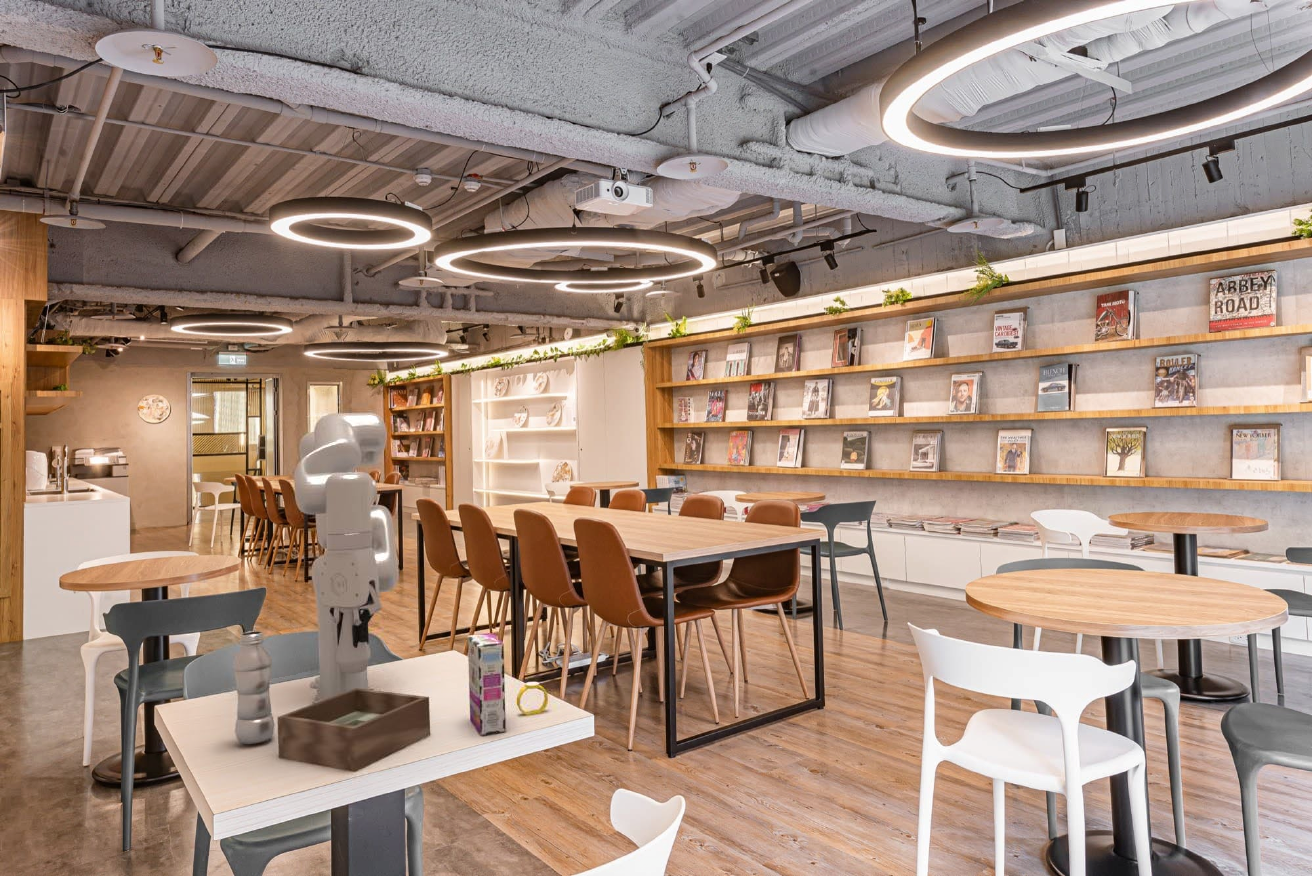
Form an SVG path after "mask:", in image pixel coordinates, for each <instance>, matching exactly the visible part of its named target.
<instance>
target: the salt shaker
mask: <svg viewBox="0 0 1312 876" xmlns="http://www.w3.org/2000/svg"><path fill="white" fill-rule="evenodd" d="M339 610H340V612H342V613H343V619H342V627H341V633H340V639H339V645H338V651H337V658H336V661H337V664H338V665H339V667H340V668H341V670H342V672H343V674H354V673H359V672H363V671H365V670H366V669H367V670H368V665H369V663H370V660H371V656H372V654H371V649H370V644H369V643H368V645H367V642H359V643H358V646H357V648H355V647H354V646H353V636H352V625H355V622H354V612H353V609H351V608H339ZM362 610H363V609H362ZM362 610H361V611H362ZM361 614H362V612H361Z"/></svg>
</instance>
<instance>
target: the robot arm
mask: <svg viewBox="0 0 1312 876" xmlns="http://www.w3.org/2000/svg"><path fill="white" fill-rule="evenodd" d="M387 434H388V432H387V426H386V424H385V421H384V419H383V418H382V417H381V416H380V415H378V413H377V414H376V413H373V412H336V413H330V414H326V415H324V416H322V417H321V418H319V419H318V420H317V422H315V426H314V429H313V431H311V432H308V433H306V434H304V435H303V436H302V438H301V440H300V442H299V455H300V461H299V462H298V464H297V466H296V468H295V470H294V471H295V472H294V477H293V478H294V480H293V482H294V498H295V503H296V506H297V508H298V509H299V511H300V512H301V513H303V514H306V515H315V528H316V537H317V542H318V544H319V545H320V547H321V548H323V549H325V550H326V551H325V550H324V553H323V554H321V555H320V556H318V557H317V558H316V559H315V560H314V561H313V563H312V565H311V580H312V586H313V590H314V595H315V597H314V598H315V602H316V614H317V628H318V629H317V631H318V632H317V635H318V639H317V640H318V656H319V657H318V660H319V663H318V664H319V676H317V677H316V678H315V679H314V681H311V682H310V684H309V687H310V689H316V691H317V693H316V695H315V696H314V697H313V698H312V704H315V703H317V702H320V701H323V700H325V699H328V698H331V697H334V696H336V695H339V694H342V693H345V692H347V691H350V690H353V689H355V688H359V689H367V690H376V689H375V688H373V687H371V686H368V685H369V683H368V681H369V680H368V679H369V678H368V668H367V669H366V670H365V671H363V672H359V673H354V674H343V672H342V670H341V668H340V667H339V665H338V664H337V661H336V658H337V651H338V645H339V639H340V633H341V627H342V619H343V613H342V612H340V610H339V608H351V609H353V612H354V622H355V625H352V636H353V646H354V647H355V648H357V646H358V643H359V642H367V645H368V644H369V641H370V638H369V635H370V634H369V623H370V622H372V618H373V616H374V615H375V614H376V613H378V612H380V611H381V610H382V604H381V602H380V593H385V592H390V591H392V590H394V589H395V588H396V587H397V584H398V582H399V575H400V573H399V571H400V570H399V562H398V561H399V560H398V553H397V544H396V536H395V535H396V534H395V527H394V522H393V521H394V520H393V517H392V514H391V512H390V510H389V509H388V508H387V506H384V505H381V504H374V503H375V502H376V501H377V499H378V498H377V497H378V496H377V495H378V488H377V482H376V480H375V479H373V477H372V476H371V474H369V473H367V472H364V471H356V470H357V469H358V467H368V466H374V465H377V464H379V463H380V462H381V460H382V457H383V456H384V455H383V454H384V453H385V452H384V451H385V450H386V446H387V441H388V435H387ZM362 609H363V610H362ZM361 610H362V611H361ZM361 612H362V614H361Z"/></svg>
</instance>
